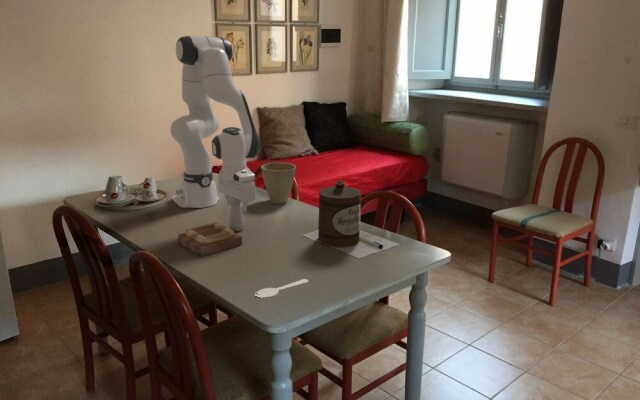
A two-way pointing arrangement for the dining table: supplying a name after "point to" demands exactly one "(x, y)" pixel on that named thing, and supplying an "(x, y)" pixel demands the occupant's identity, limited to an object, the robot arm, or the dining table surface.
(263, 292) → the spoon
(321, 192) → the wooden container
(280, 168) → the plant pot
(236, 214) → the salt shaker
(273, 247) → the dining table surface
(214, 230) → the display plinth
